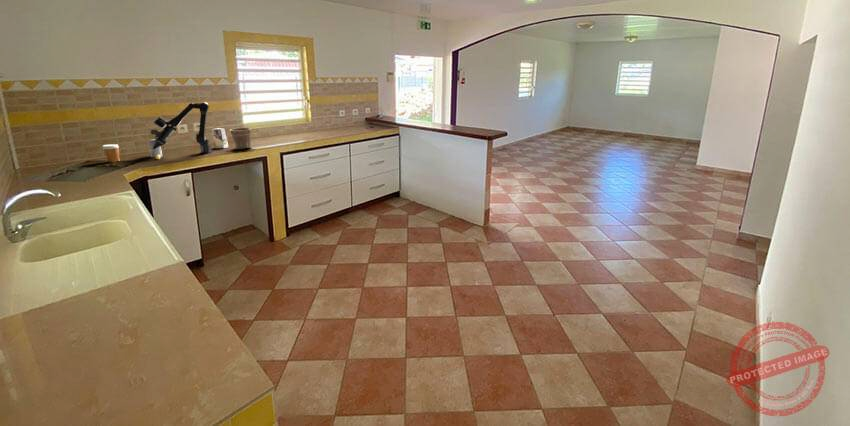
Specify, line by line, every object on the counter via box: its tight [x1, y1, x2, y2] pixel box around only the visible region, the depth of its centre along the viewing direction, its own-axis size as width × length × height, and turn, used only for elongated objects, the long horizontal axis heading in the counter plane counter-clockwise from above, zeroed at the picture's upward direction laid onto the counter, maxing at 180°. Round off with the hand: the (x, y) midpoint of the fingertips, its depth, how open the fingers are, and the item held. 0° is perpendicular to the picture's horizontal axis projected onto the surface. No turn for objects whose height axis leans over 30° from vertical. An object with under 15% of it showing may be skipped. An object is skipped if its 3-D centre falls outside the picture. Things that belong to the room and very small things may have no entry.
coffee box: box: [211, 127, 229, 149], centre depth 343 cm, size 9×6×16 cm
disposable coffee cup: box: [102, 143, 121, 163], centre depth 290 cm, size 10×10×12 cm
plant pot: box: [229, 127, 252, 150], centre depth 340 cm, size 16×16×16 cm
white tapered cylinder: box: [147, 138, 163, 158], centre depth 308 cm, size 7×7×12 cm
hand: (152, 148), depth 307 cm, fingers closed on white tapered cylinder, 7 cm apart
